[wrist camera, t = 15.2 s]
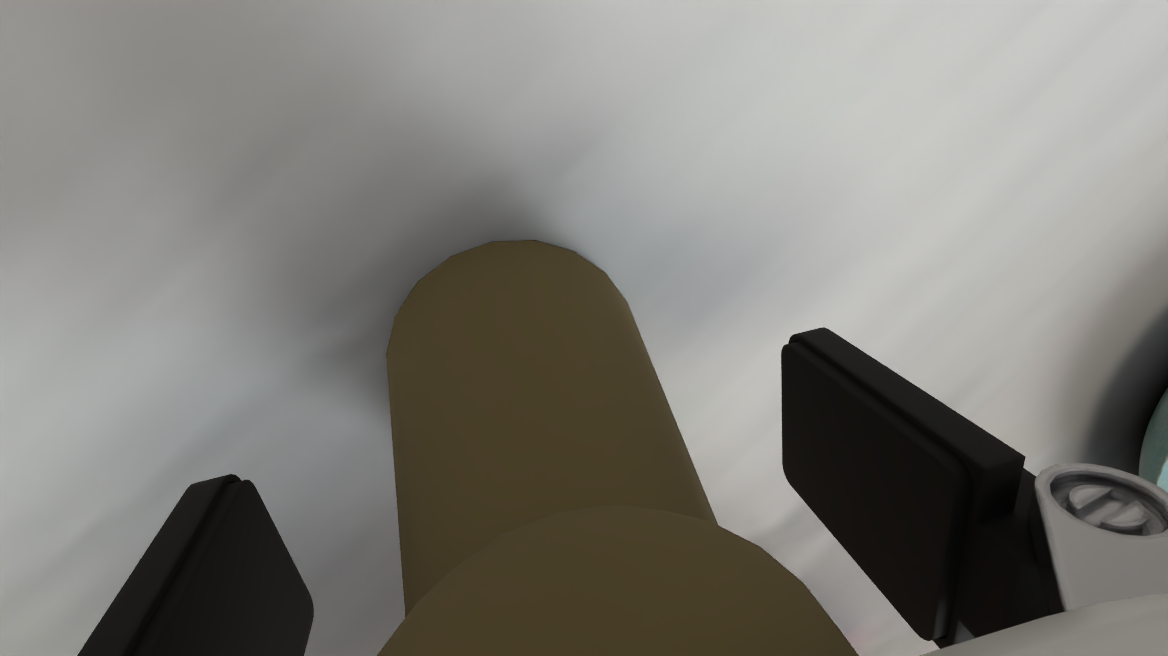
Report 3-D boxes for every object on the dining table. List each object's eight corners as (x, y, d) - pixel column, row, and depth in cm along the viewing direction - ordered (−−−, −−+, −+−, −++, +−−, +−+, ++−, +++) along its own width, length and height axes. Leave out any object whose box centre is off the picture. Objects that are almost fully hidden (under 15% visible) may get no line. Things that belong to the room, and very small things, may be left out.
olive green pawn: (510, 181, 12) (775, 610, 2) (683, 348, 15) (1173, 899, 5) (329, 377, 13) (-75, 1336, 3) (522, 503, 15) (649, 1252, 6)
